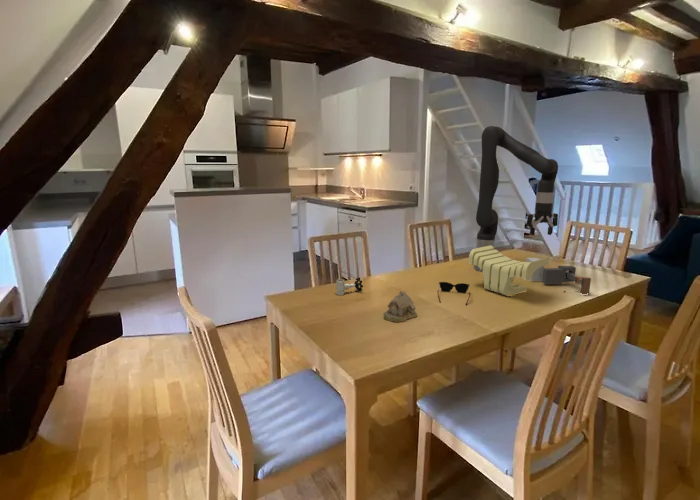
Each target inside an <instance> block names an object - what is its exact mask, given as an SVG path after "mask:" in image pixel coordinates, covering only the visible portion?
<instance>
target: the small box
mask: <svg viewBox="0 0 700 500" xmlns="http://www.w3.org/2000/svg"><path fill="white" fill-rule="evenodd" d="M525 260H526V261H525V262H534V261H538V260H541V258H538V257H526V259H525ZM544 266H545V265H544ZM544 266H541V267H539V268H538V269H536V270H535V272H534V273H533V275H532V279H530V280H529V281H530V282H531V281H542V277H543V268H545V267H544Z"/></svg>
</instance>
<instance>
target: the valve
mask: <svg viewBox="0 0 700 500" xmlns="http://www.w3.org/2000/svg"><path fill="white" fill-rule="evenodd" d="M335 283H336V284H335V290H336V295H338V296H344V295H345V290H349V289H352V288H355V289H356V290H357V292H362V291H363V288H364V285H363V284H362V283H363V280H362V279H361V277H357V278H355V281H354V283H348V282H346V283H345V280H344V279H341V278H340V279H336V282H335Z"/></svg>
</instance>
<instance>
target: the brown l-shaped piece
mask: <svg viewBox="0 0 700 500" xmlns="http://www.w3.org/2000/svg"><path fill="white" fill-rule="evenodd" d="M560 266H561V265H558V266H557V268H560ZM566 277H567V278H569V279H571V280H573V281H574V282H575V284H579V285H580V290H579V291H580V292H579V294H580V293H582V294H587V293H589V294H590V289H591V282H592V278H591V277H588V276H587V277H584V276H580V275H577V274H576V273H575V274H573V273H571V272H569V271H566Z"/></svg>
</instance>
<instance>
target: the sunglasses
mask: <svg viewBox="0 0 700 500" xmlns="http://www.w3.org/2000/svg"><path fill="white" fill-rule="evenodd" d="M439 288H440V290H441V291H442V292H445V293H446V292H447V293H450V292H451V291H452V290H453V289H455V291H456V292H457V293H459V294H466V293H467V292H468V291H469V292H468V297H467V300H466V303H465V306H468V303H469V301H470V298H471V286H470V284H468V283H463V282H462V283H457V284H452V283H451V282H447V281H439V282H438V287H437V297H438V300H439V304H442V303H441V298H440V294H439V291H440V290H439Z"/></svg>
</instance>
